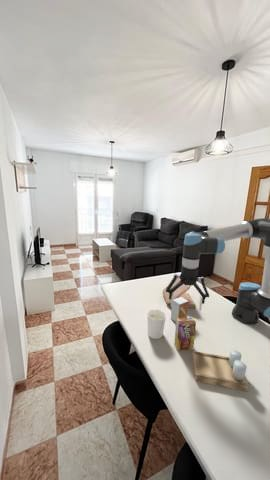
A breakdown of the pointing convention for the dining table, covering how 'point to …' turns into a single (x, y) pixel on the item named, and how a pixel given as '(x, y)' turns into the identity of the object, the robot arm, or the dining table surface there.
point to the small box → (179, 308)
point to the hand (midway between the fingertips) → (185, 307)
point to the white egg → (234, 357)
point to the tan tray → (216, 371)
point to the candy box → (185, 333)
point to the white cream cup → (156, 323)
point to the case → (179, 294)
